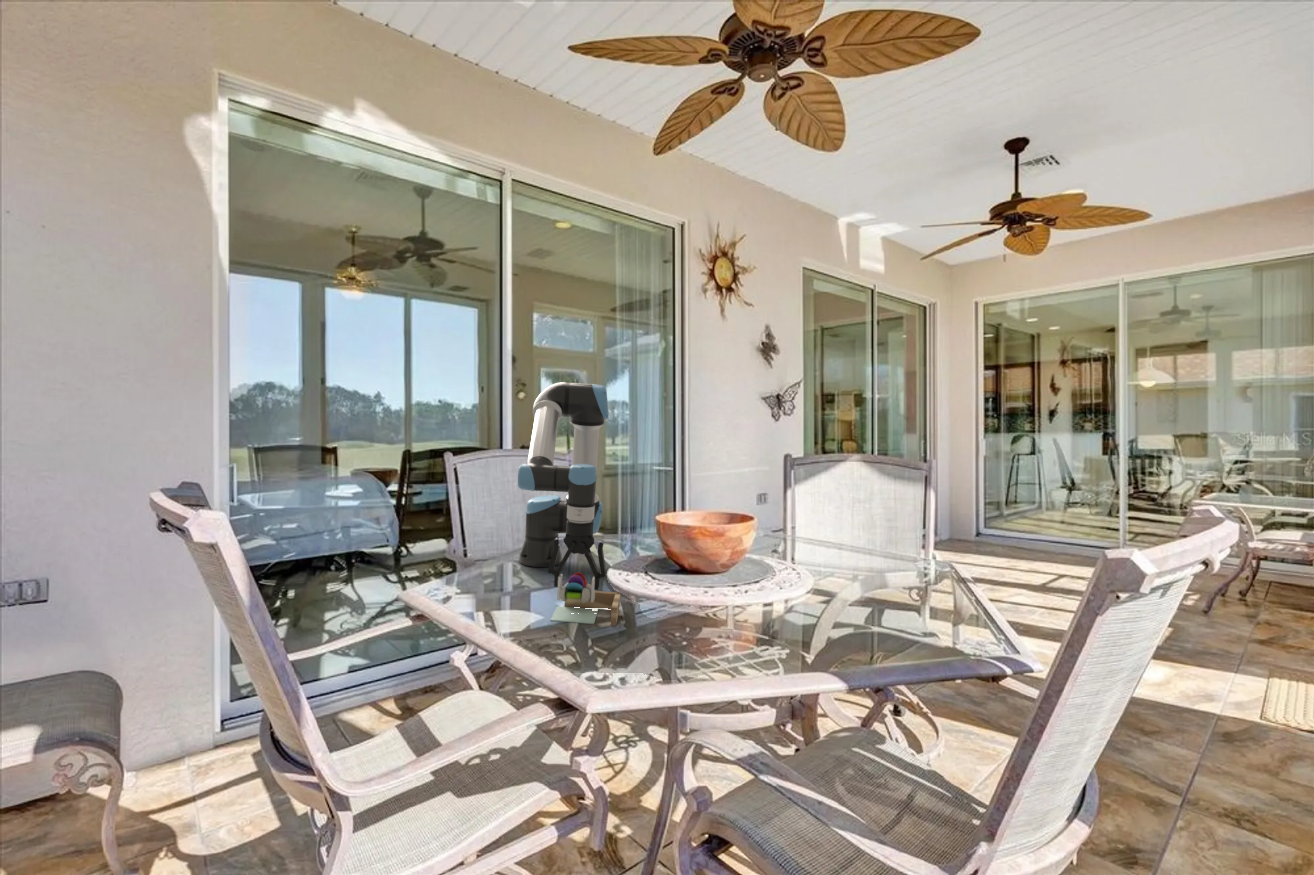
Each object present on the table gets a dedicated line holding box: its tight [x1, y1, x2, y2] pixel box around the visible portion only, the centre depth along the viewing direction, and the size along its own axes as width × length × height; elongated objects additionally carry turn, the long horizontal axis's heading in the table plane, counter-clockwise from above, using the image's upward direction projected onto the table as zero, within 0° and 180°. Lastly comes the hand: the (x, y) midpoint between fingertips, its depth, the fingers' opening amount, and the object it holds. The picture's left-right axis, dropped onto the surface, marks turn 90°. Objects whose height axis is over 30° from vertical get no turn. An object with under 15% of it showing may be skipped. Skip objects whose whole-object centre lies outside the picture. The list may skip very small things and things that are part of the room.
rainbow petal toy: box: [559, 572, 592, 603], centre depth 173 cm, size 8×10×7 cm
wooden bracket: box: [563, 590, 622, 626], centre depth 175 cm, size 12×16×5 cm
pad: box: [550, 605, 599, 625], centre depth 174 cm, size 10×12×1 cm
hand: (575, 599), depth 173 cm, fingers closed on rainbow petal toy, 9 cm apart
